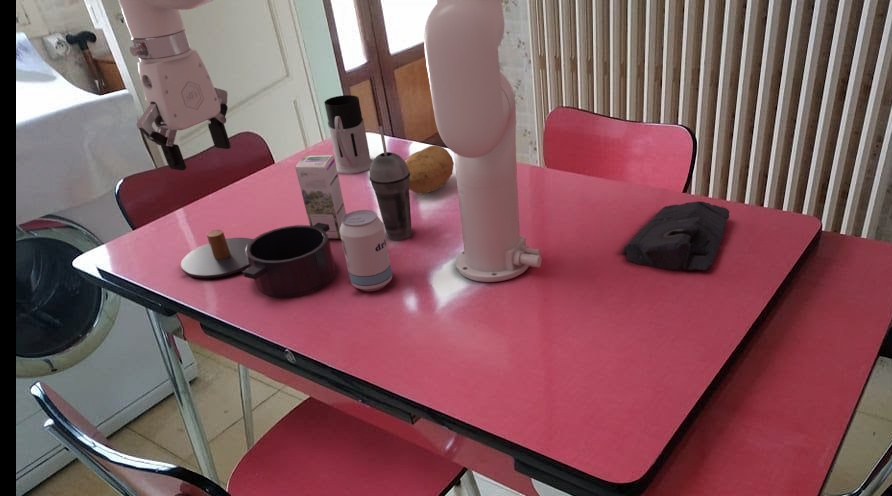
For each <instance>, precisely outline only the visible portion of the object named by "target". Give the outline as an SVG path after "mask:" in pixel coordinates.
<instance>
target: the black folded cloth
mask: <svg viewBox="0 0 892 496" xmlns="http://www.w3.org/2000/svg"><path fill="white" fill-rule="evenodd" d="M729 218H730V210H729V208H727V207H723V206H719V205H716V204H711V203H710V202H705V201H702V200H701V201H690V202H685V203H681V204H670V205H665V206H664V207H663V208H661V209H660V210H659V211H658V212H657V213H656V214H655V215H654V217H653V218H651V219H650V220H649V221H648V223H646V224H645V225H644V226H643V227H642V228H640V230H639V231H638V232H637V233H635V235H634V236H633V237H632V238H631V239H630V241H629V242H628V243H627V244H626V245H625V246H624V247H623V248H622V251H621V253H622V254H623V255H625V256H626V260H627V262H629V263H633V264H637V265H640V266H641V265H646V266H650V267H653V268H658V269H661V270H665V271H675V272H679V271H688V272H692V271H697V270H700V271H708V270H710V269H711V267H712V266H713V263H714V261H715V260H716V256H717V255H718V251H719V249H720V245H721V242H722V241H723V237H724V235H725V230H726V226H727V221H728V220H729Z"/></svg>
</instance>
